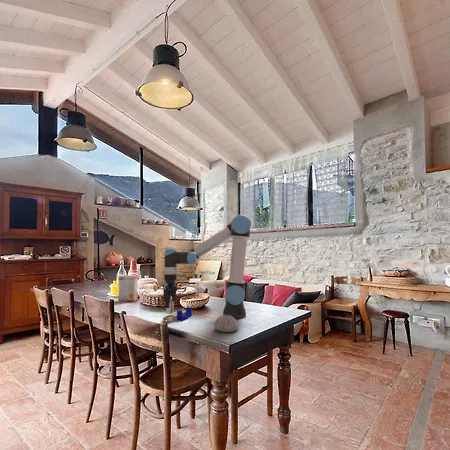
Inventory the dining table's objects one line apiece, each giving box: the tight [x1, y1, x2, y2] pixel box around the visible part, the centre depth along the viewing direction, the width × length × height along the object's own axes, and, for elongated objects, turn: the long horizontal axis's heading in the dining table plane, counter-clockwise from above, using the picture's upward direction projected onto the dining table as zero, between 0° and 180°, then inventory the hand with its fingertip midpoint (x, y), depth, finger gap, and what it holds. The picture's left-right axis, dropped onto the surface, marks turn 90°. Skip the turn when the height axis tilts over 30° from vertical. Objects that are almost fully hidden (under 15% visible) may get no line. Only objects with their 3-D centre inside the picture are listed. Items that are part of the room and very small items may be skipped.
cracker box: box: [118, 274, 139, 302], centre depth 243 cm, size 14×6×21 cm, turn 82°
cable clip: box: [176, 306, 193, 322], centre depth 185 cm, size 12×4×6 cm, turn 153°
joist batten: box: [162, 310, 186, 324], centre depth 183 cm, size 5×20×3 cm, turn 159°
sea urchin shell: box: [214, 314, 239, 333], centre depth 160 cm, size 13×14×8 cm
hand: (169, 312), depth 178 cm, fingers closed on awl, 3 cm apart
